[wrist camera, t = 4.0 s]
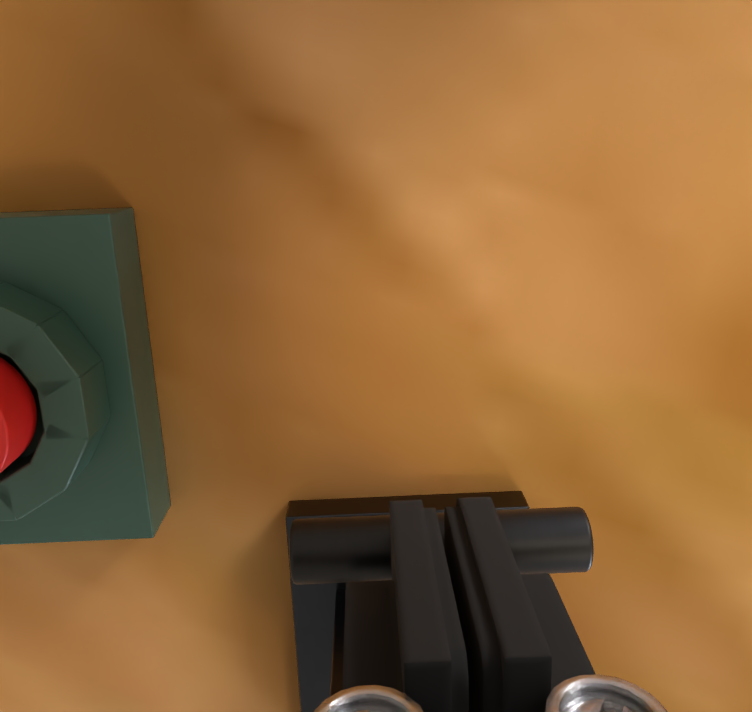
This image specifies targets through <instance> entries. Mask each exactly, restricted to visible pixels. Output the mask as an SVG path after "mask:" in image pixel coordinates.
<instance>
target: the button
mask: <svg viewBox="0 0 752 712" xmlns="http://www.w3.org/2000/svg"><path fill="white" fill-rule="evenodd" d="M36 425H37V409H36V403H35V399H34V396H33V394H32V391H31V389H30V387H29V385H28V384H27V382H26V381H25V379H24V378H23V376H22V375H21V374H20V373H19V372H18V371H17V370H16V369H15V368H14V367H13V366H12V365H11V364H10V363H8V362H7V361H5V360H4V359H2V358H1V357H0V473H1V472H2V471H3V470H4V469H6V468H7V467H8V466H9V465H10V464H11V463H12V462H13V461H14V460H16V459H17V458H18V457H19V456H20V455H21V454H22V453H23V452H24V451H25V450H26V448H27V447H28V446H29V444H30V442H31V440H32V439H33V436H34V433H35V430H36Z"/></svg>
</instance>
